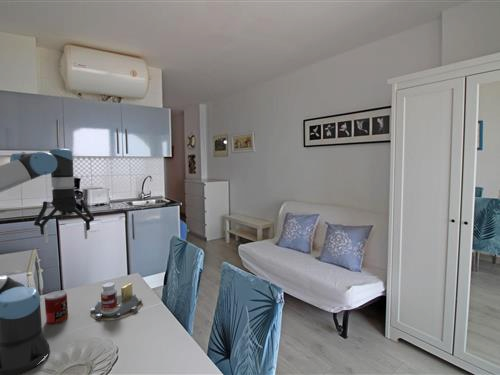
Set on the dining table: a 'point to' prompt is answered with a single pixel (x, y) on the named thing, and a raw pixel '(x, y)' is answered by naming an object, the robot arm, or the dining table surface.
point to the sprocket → (119, 304)
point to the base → (116, 318)
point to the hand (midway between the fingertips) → (66, 240)
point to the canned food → (56, 307)
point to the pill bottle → (109, 297)
